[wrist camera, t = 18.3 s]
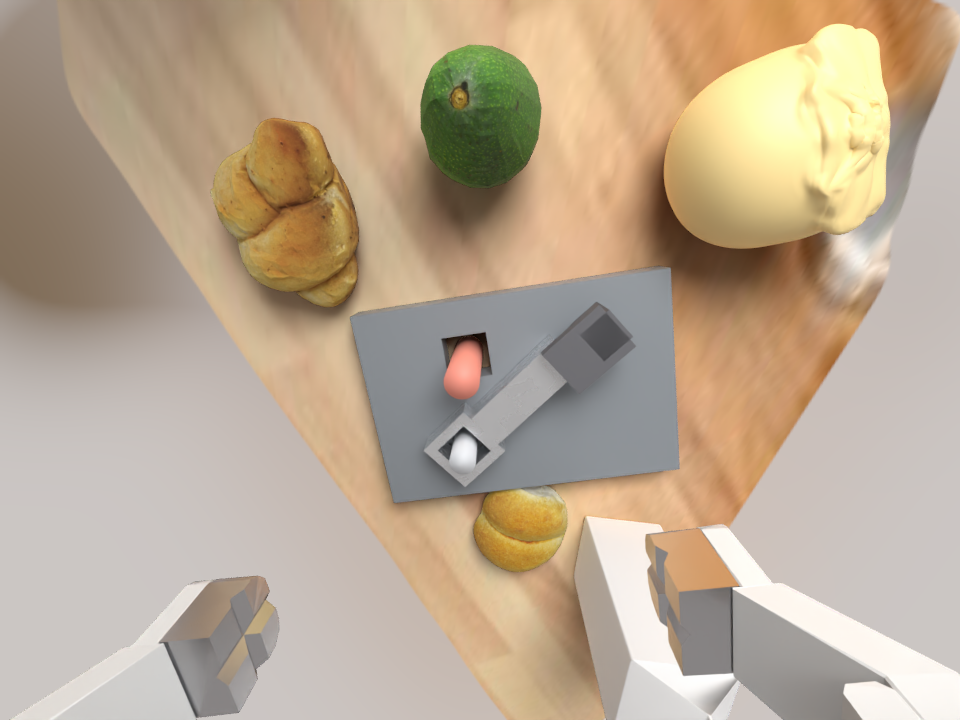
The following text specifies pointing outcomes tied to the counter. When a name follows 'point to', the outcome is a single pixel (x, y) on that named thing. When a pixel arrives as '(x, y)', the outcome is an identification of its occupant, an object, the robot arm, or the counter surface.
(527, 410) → the link
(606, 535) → the milk carton
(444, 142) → the avocado
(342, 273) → the bread roll
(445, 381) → the peg
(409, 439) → the board
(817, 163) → the sculpture
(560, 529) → the bread roll
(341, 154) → the counter surface
